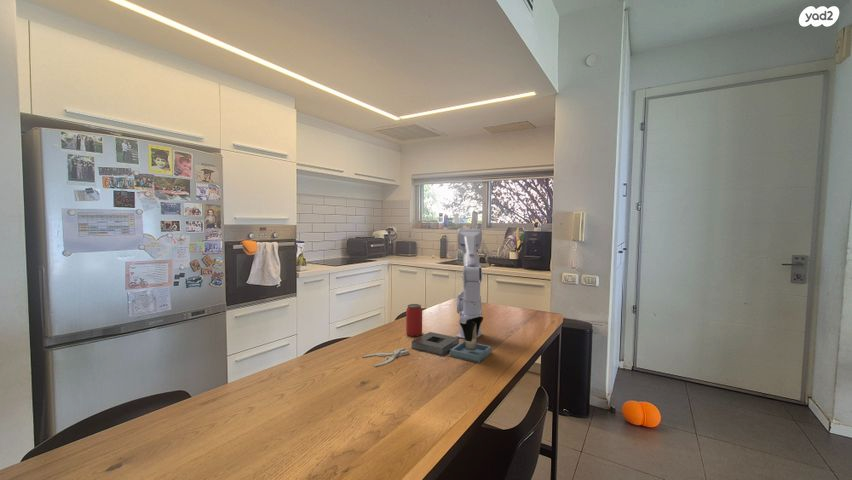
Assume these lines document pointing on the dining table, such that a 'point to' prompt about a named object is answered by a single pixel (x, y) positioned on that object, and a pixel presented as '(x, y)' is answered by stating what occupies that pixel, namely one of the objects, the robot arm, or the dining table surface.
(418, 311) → the beer can
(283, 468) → the dining table surface
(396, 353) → the pliers
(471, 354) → the slate tray
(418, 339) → the hitch block
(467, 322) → the robot arm
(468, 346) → the birch peg
